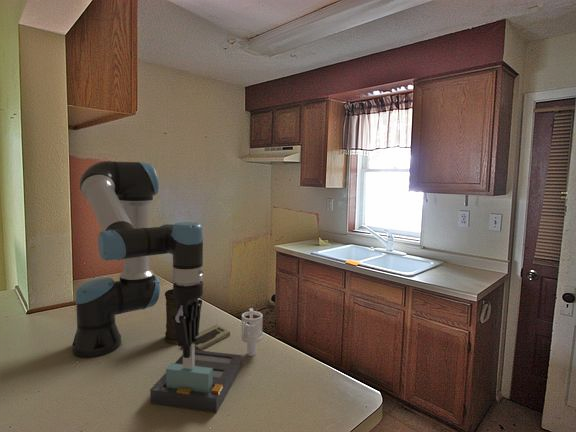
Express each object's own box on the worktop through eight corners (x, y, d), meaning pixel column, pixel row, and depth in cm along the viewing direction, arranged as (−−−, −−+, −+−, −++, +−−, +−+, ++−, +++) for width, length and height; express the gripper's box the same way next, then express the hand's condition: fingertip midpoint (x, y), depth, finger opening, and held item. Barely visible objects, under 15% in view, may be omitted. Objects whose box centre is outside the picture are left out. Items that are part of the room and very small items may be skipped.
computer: (199, 353, 120) (199, 344, 120) (183, 347, 125) (183, 338, 124) (230, 336, 133) (230, 328, 133) (215, 331, 138) (215, 323, 137)
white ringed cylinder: (260, 347, 125) (261, 307, 123) (263, 357, 118) (264, 315, 116) (240, 349, 123) (241, 308, 121) (242, 359, 116) (242, 316, 114)
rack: (150, 403, 93) (150, 387, 93) (187, 360, 115) (187, 347, 114) (216, 413, 90) (216, 396, 90) (241, 367, 112) (242, 353, 111)
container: (176, 346, 124) (175, 297, 122) (159, 339, 129) (158, 292, 127) (195, 336, 132) (194, 290, 130) (178, 330, 136) (178, 286, 134)
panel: (166, 396, 95) (166, 368, 94) (171, 390, 97) (171, 363, 97) (208, 402, 93) (208, 374, 92) (212, 395, 95) (212, 368, 95)
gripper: (190, 290, 84) (191, 382, 87) (211, 275, 97) (211, 355, 100) (161, 288, 85) (163, 378, 88) (186, 273, 98) (186, 353, 101)
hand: (188, 366), depth 94 cm, fingers closed
